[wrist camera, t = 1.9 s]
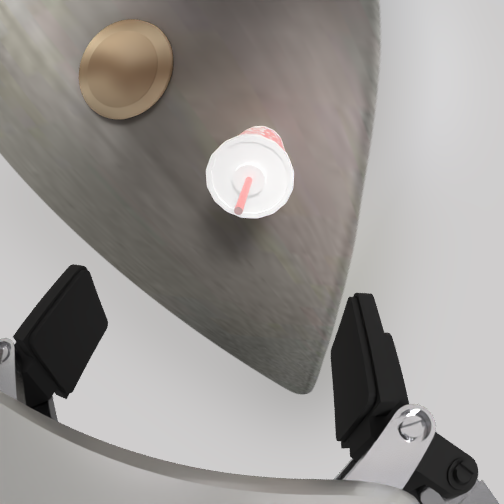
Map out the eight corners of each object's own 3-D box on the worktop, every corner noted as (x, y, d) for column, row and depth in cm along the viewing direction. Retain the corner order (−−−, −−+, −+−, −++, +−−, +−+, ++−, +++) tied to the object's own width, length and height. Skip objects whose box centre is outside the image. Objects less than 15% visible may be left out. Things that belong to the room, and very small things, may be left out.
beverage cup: (298, 126, 25) (310, 170, 14) (283, 184, 29) (281, 268, 17) (234, 112, 25) (188, 145, 14) (223, 171, 29) (179, 246, 17)
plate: (82, 34, 20) (77, 33, 19) (174, 11, 19) (170, 9, 19) (86, 123, 26) (81, 125, 26) (174, 113, 26) (170, 115, 25)
